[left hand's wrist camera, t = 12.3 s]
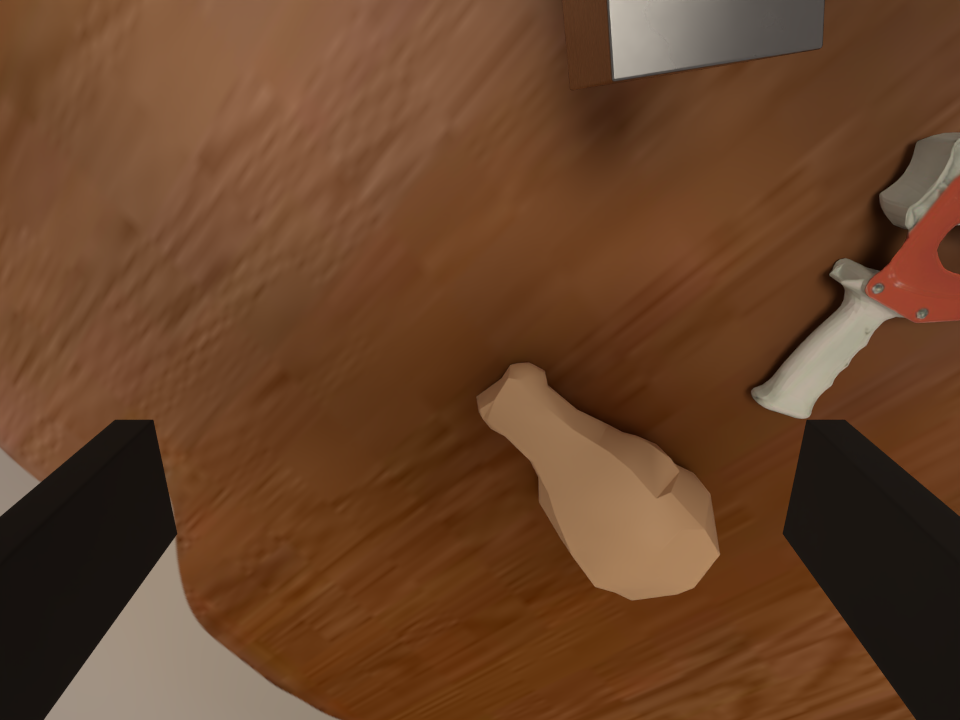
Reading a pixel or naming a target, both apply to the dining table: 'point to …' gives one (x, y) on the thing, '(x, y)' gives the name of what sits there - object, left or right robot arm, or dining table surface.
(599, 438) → the squash
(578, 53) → the bar
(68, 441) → the dining table surface
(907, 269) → the tape dispenser
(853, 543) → the left robot arm
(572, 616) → the dining table surface
